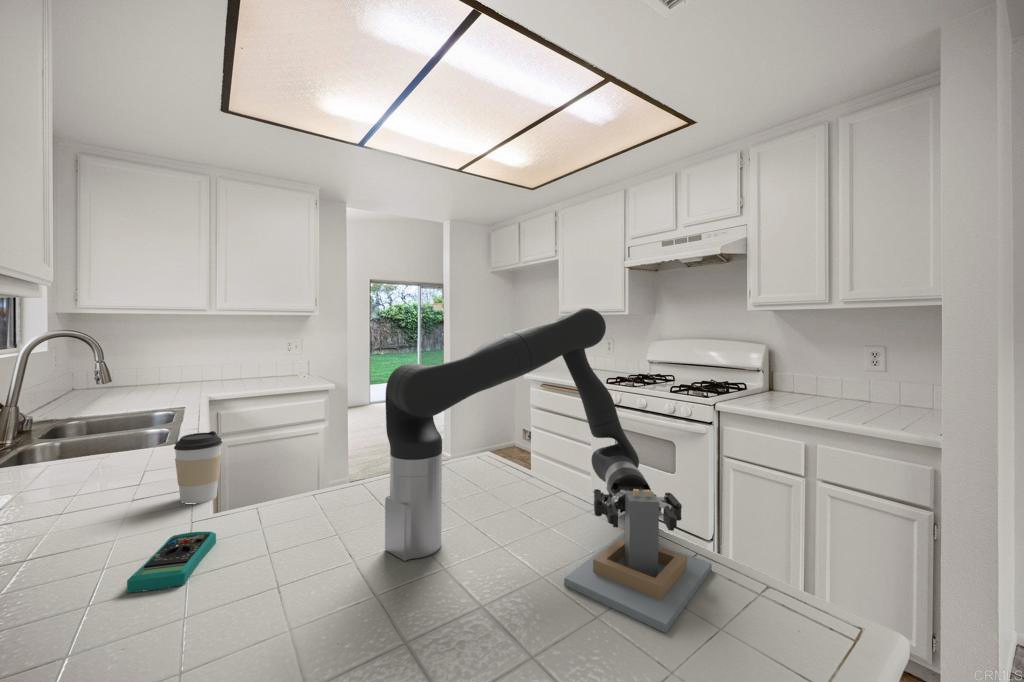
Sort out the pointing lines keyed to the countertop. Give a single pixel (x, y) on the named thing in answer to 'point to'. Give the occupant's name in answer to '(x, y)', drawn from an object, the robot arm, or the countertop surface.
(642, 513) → the connector
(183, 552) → the digital multimeter
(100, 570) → the countertop surface
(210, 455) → the coffee cup
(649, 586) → the holder
